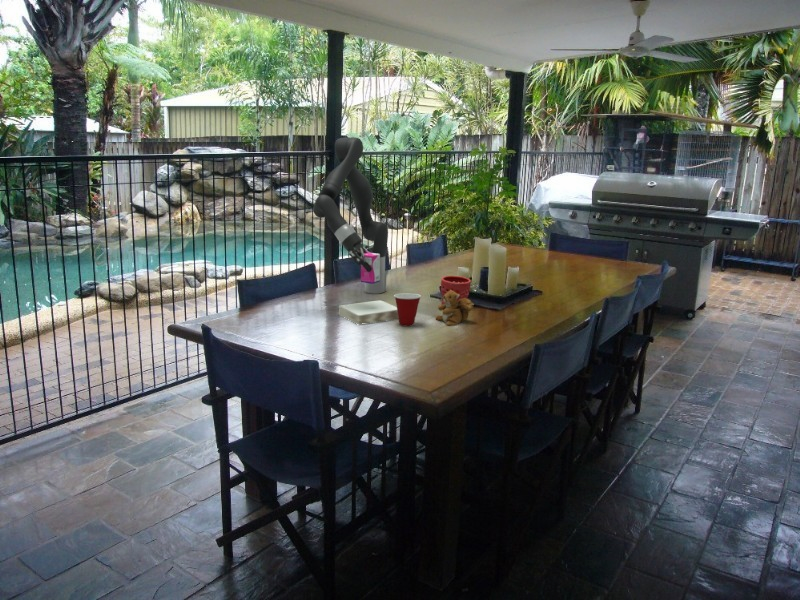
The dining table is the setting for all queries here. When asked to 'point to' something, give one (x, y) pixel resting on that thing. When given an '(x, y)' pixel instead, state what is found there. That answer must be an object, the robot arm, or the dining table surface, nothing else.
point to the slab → (369, 312)
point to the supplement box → (374, 274)
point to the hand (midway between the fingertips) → (374, 269)
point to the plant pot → (455, 286)
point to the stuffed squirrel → (454, 308)
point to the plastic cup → (407, 307)
